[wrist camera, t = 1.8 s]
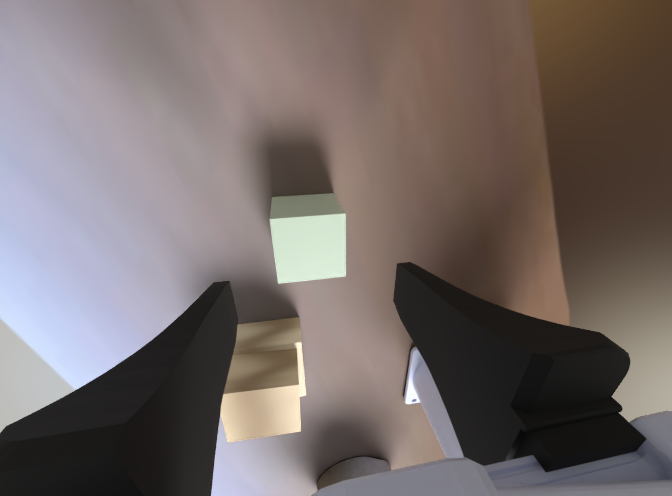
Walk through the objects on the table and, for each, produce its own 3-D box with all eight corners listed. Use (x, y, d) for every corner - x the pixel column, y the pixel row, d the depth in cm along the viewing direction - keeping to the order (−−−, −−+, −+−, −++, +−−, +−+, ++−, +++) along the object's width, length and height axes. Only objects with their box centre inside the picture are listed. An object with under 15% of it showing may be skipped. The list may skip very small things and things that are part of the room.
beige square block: (297, 348, 20) (298, 384, 18) (298, 393, 23) (300, 431, 20) (224, 356, 20) (216, 395, 17) (234, 401, 22) (227, 442, 19)
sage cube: (333, 192, 19) (345, 213, 15) (334, 246, 20) (345, 276, 17) (272, 196, 18) (269, 219, 14) (278, 251, 20) (278, 283, 16)
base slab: (299, 314, 23) (301, 341, 20) (303, 365, 26) (306, 395, 23) (222, 323, 22) (214, 353, 19) (235, 375, 25) (230, 407, 22)
